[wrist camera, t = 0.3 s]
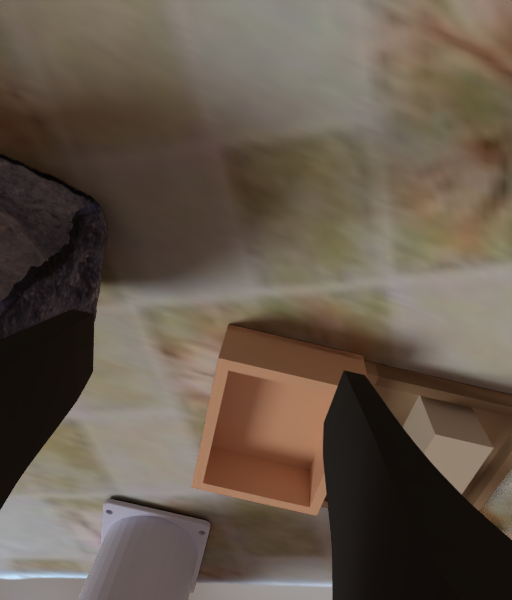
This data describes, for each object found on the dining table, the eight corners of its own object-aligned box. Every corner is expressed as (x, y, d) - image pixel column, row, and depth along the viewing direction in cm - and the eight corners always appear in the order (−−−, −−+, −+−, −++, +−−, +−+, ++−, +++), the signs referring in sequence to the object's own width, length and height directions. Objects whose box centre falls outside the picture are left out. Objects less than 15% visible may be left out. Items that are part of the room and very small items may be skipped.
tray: (453, 521, 28) (459, 538, 27) (311, 488, 28) (311, 504, 27) (537, 401, 23) (549, 416, 22) (364, 360, 23) (367, 374, 22)
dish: (314, 471, 27) (316, 515, 24) (202, 445, 27) (191, 487, 24) (362, 355, 23) (371, 393, 20) (228, 324, 22) (218, 358, 20)
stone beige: (441, 455, 25) (458, 499, 22) (393, 444, 25) (404, 486, 22) (471, 406, 23) (493, 448, 20) (419, 394, 23) (435, 434, 20)
